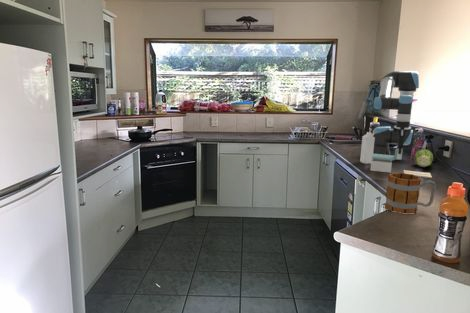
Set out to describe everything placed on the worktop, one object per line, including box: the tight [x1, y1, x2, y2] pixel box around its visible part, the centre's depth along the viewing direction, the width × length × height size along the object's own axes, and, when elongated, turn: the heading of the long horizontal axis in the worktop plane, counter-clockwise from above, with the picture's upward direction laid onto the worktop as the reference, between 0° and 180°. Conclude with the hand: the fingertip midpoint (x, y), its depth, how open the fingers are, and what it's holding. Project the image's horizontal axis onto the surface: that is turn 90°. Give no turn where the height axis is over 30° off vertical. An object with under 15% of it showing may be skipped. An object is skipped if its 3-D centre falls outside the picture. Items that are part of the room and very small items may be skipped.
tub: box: [369, 158, 393, 174], centre depth 223 cm, size 10×12×7 cm
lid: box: [372, 148, 404, 161], centre depth 220 cm, size 11×17×6 cm, turn 66°
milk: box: [359, 131, 375, 164], centre depth 242 cm, size 6×6×22 cm
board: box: [403, 169, 433, 179], centre depth 216 cm, size 11×15×1 cm
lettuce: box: [413, 148, 434, 168], centre depth 237 cm, size 12×21×11 cm, turn 152°
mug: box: [384, 172, 437, 214], centre depth 151 cm, size 20×14×15 cm
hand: (398, 157), depth 218 cm, fingers closed on lid, 4 cm apart
